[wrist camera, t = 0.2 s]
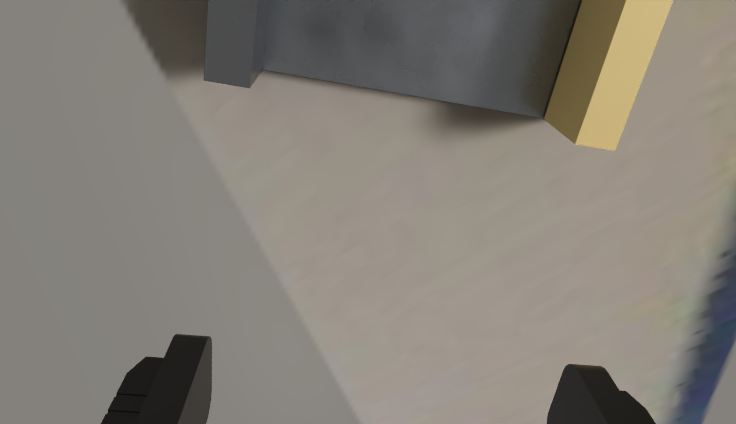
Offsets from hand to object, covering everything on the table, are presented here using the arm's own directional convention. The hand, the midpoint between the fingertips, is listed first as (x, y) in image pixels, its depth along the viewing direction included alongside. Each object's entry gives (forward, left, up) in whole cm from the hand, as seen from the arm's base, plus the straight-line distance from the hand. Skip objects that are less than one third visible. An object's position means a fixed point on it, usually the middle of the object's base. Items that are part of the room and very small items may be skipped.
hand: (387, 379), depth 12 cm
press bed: (-6, +3, -28) cm, 29 cm away
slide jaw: (-6, +14, -26) cm, 30 cm away
